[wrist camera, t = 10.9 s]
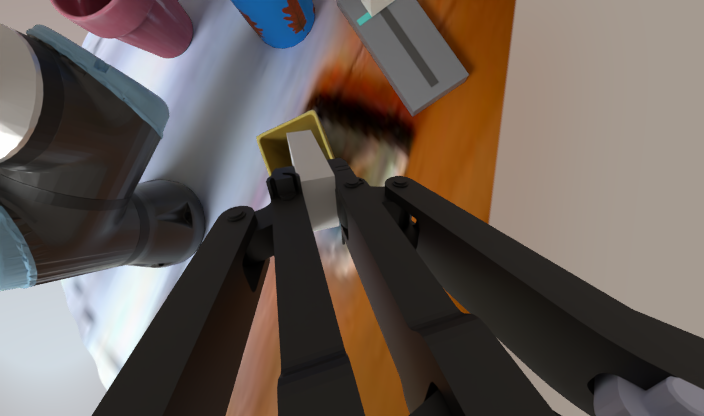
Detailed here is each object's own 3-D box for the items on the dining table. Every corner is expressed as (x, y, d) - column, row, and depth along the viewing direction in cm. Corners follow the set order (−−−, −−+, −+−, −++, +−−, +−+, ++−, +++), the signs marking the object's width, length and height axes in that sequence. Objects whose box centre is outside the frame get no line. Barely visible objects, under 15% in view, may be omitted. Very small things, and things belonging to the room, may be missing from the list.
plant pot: (151, -15, 46) (59, -100, 33) (216, 3, 44) (145, -81, 31) (128, 61, 46) (29, 6, 34) (191, 82, 44) (111, 32, 32)
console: (464, 81, 37) (469, 74, 35) (412, 116, 38) (413, 111, 36) (385, -32, 39) (385, -45, 37) (337, 5, 40) (334, -6, 38)
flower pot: (283, 151, 42) (254, 136, 33) (330, 130, 40) (313, 107, 31) (301, 200, 41) (277, 198, 32) (350, 180, 40) (338, 172, 31)
